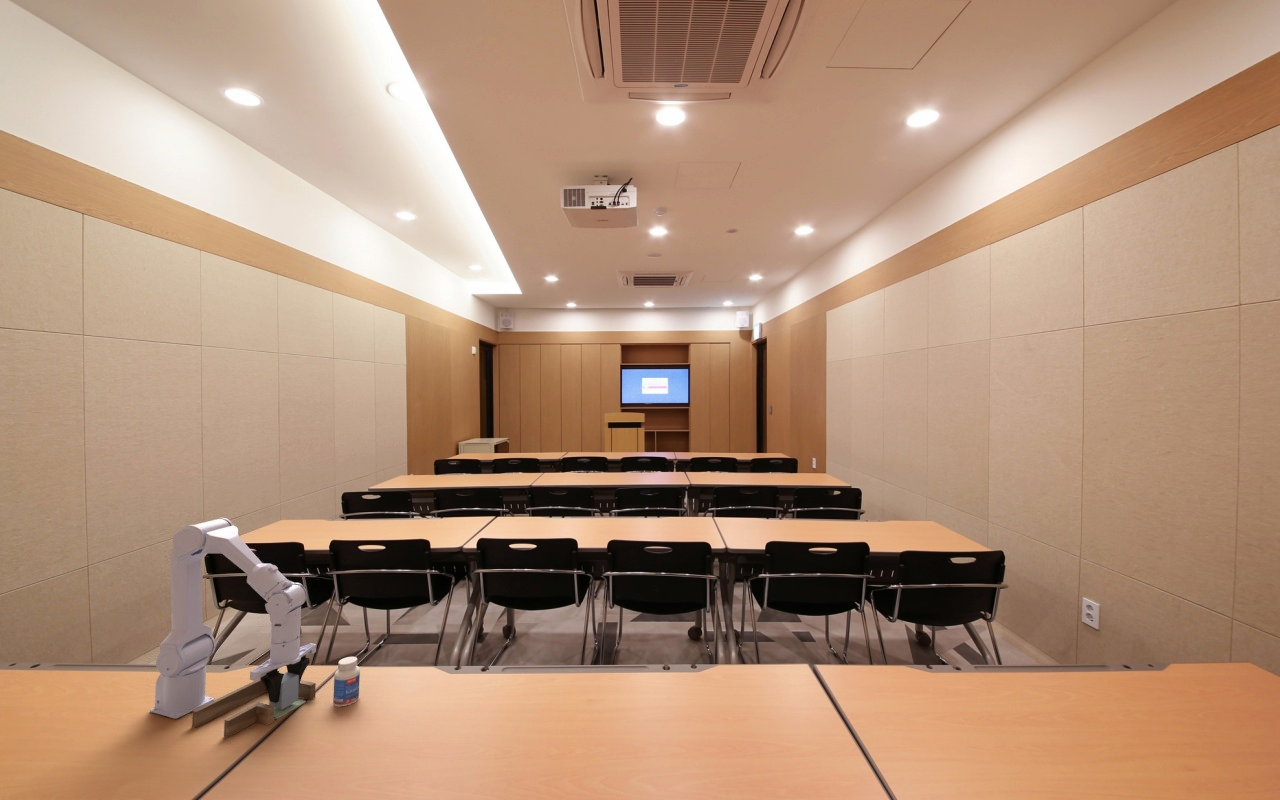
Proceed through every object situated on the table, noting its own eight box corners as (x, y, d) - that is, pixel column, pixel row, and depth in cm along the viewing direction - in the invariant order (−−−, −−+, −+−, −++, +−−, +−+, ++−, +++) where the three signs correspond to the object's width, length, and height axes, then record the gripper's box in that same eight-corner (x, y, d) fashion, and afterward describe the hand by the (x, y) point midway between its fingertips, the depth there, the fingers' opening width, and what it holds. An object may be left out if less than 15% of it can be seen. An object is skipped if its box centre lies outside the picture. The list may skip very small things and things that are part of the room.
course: (192, 726, 110) (192, 710, 110) (270, 686, 126) (270, 672, 126) (240, 741, 105) (240, 724, 105) (315, 697, 121) (315, 683, 121)
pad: (259, 714, 114) (259, 713, 114) (289, 698, 121) (289, 696, 121) (277, 719, 113) (277, 717, 113) (305, 702, 119) (306, 700, 119)
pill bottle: (347, 709, 117) (348, 667, 117) (327, 706, 118) (328, 664, 118) (364, 696, 122) (365, 656, 122) (345, 693, 123) (346, 654, 124)
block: (269, 706, 116) (269, 680, 116) (285, 697, 119) (286, 672, 120) (281, 709, 114) (282, 683, 115) (298, 700, 118) (298, 674, 118)
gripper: (266, 654, 109) (264, 717, 109) (326, 628, 123) (324, 683, 123) (244, 649, 111) (241, 711, 111) (304, 624, 125) (303, 678, 125)
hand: (283, 696), depth 117 cm, fingers closed on block, 4 cm apart
